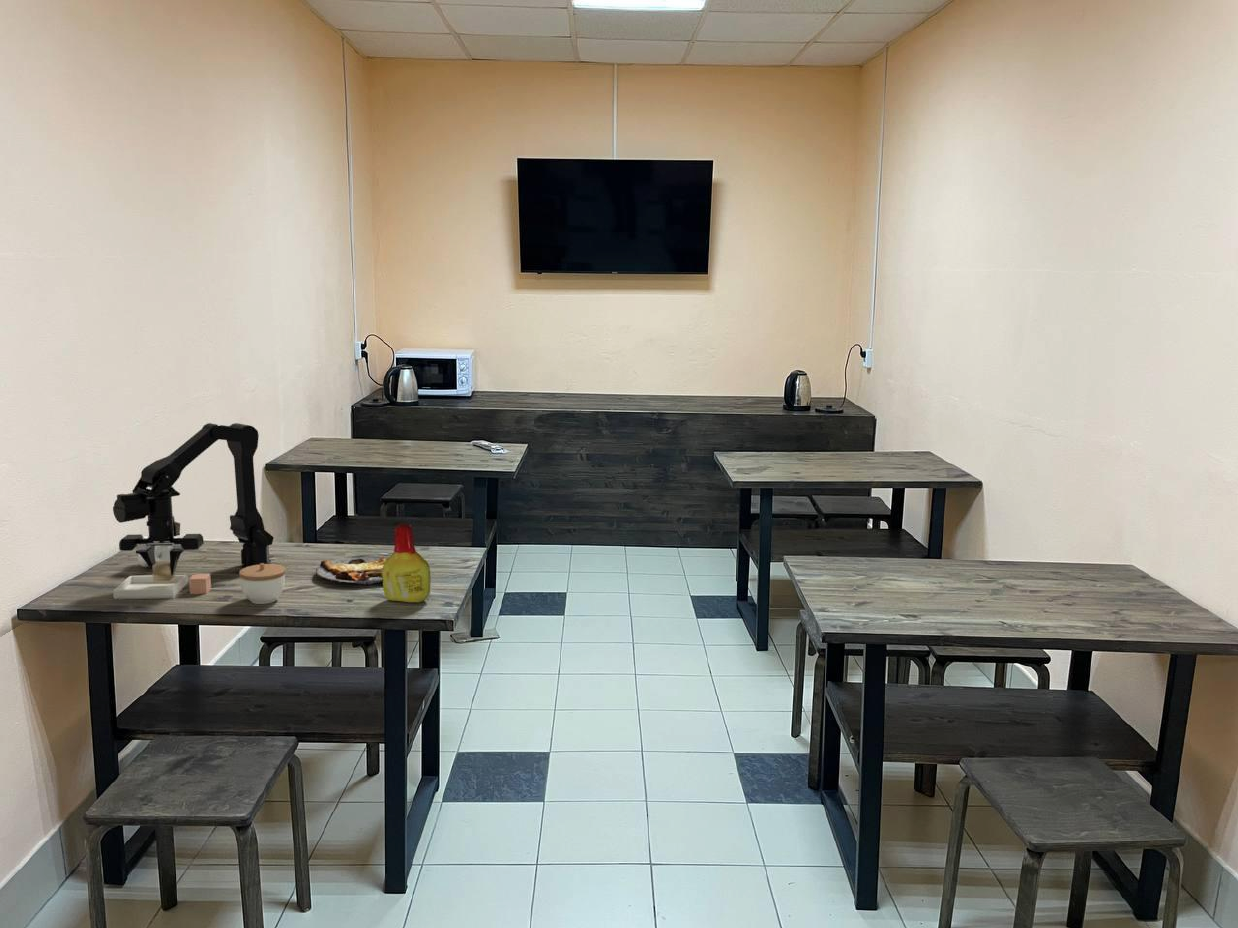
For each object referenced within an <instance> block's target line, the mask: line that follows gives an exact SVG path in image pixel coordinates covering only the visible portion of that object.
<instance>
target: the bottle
mask: <svg viewBox="0 0 1238 928" xmlns="http://www.w3.org/2000/svg"><path fill="white" fill-rule="evenodd" d="M415 547H416V546H415V544H414V534H413V528H412V525H410V524H409V523H399V524H397V525H396V526H395V528H394V548H393V553H392V554H391V555H390V557H389V558H388V559H387V560H386V562H385V563H384V565H383V569H382V577H381V579H383V581H382V587H383V589H382V590H383V593H384V597H386V599H387V600H389V601H394V602H395V601H397V602H405V603H422V602H423V601H425V600H426V598H427V597H428V596H429V595H430V594H431V568H430V564H429V563H428V561H427V560H426V559H425V558H423V556H421V554H420V553H418V552H417V551H416V548H415Z"/></svg>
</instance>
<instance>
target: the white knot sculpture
mask: <svg viewBox="0 0 1238 928" xmlns="http://www.w3.org/2000/svg"><path fill="white" fill-rule="evenodd" d="M148 537H149V535H148V536H145V535H144V536H143V538H148ZM174 538H178V536H174ZM169 542H170V541H169ZM172 549H173V547H172V545H168V546H155V551H154V554H155V561H156V562H157V561H170V551H171V550H172ZM183 553H184V552H182V553H181V554H180V557H179V559H180V558H181V557H182V555H183ZM137 561H138V562H137V563H138V564H139V565H140V567H144V568H149V566H148V564H147V563H146V561H145V560H144V559H143V558H142V556H141V555H140V554H138V556H137Z"/></svg>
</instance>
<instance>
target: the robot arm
mask: <svg viewBox="0 0 1238 928" xmlns="http://www.w3.org/2000/svg"><path fill="white" fill-rule="evenodd" d="M219 440H221V441H226V444H227V447H228V449H229V451H230V452H231V455H232V457H233V461H234V462H233V463H234V464H233V465H234V478H235V479H234V480H235V488H236V489H235V490H236V506H237V509H236V511H235V513H234V514H230V516H229V521H230V528H229V530H231V531H232V535H234V536H235V537H236V538H237V540H238V541H239V543H242V548H241V550H240V557H241V559H240V560H241V561H240V562H241V565H242V566H241V568H242V569H243V568H246V567H249V566H253V565H259V564H261V563H264V564H271V562H272V559H270V547H269V546H271V545H273V542H274V536H273V535H272V534H271V533H270V532H268V531H266V530H265V528H266V527H265V523H264V520H263V517H262V516H261V513H260V512H259V509H258V507H257V495H256V494H257V493H256V479H255V466H254V464H255V463H254V456H255V454H256V451H257V449H258V445H259V431H258V429H256V428H255V427H254V426H253V425H249V424H244V423H238V422H237V423H232V424H230V425H223V424H222V425H221V424H216V423H211V422H210V423H206V424H204V425H202V428H201V429H199V430H198V431H197V432H196V433H194V435H192V436H191V437H190V438H188V440H186V441H185V442H184V443H182V445H180V446H178V448H176V449H175V450H174V451H173V452H172V453H170V454H169V455H167V456H166V457H162V458H159V459H157V460H155V461H154V462H152V463H150V464H148V465H147V466H145V467H144V468H142V470H141V472H140V476H141V477H140V478H139V480H138V481H137V482H136V485H135V486H134V488H133V490H132V492H130V493H120V494H117V495H116V499H115V501H114V503H113V507H112V511H113V515H114V517H115V520H116V521H117V522H118V523H119V524H120V523H126V522H131V521H137V520H143V519H146V517H147V521H146V526H147V527H148V528H147V529H148V536H149V537H148V536H147V537H148V538H143V537H144V536H143V534H140V533H139V534H126V535H125V536H124V537H122V538H121V539H120V540H119V543H118V546H119V549H118V550H119V551H120V552H121V551H123V552H124V551H130V552H131V551H134V549H135V548H136V551H135V554H140V555H141V556H142V558H143V559H144V560H145V561H146V563H147V564H148V566H149V567H148V568H149V570H150V571H151V573H152V574H153V569H152V566H153V565H154V564H155V563H156V561H155V554H154V551H155V546H168V545H172V547H173V549H172V548H171V551H170V570H171V574H172V575H173V574H174V572H176V569H177V566H178V562H179V559H180V558H181V557H180V554H181V553H182V552H183V553H184V552H185V551H186V550H187V551H190V550H191V551H192V550H193V551H194V550H199V549H200V548H201V547H202V546H203V545H204V536H203V535H202V534H201V533H186V534H185V535H183V536H182V537H178V536H180V535H181V523H180V522H178V521H175V516H174V513H173V503H172V502H173V501H172V500H173V499H172V498H174V497H178V496H180V494H181V493H180V492H179V491H177V490H176V489H175V488H174V486H173V485H174V484H175V483H176V482H177V481H178V480H179V478H180V476H181V475H182V472H183V470H184V469H185V468H186V467H187V466H188V465H190V464H191V463H192V462H193V461H195V460H196V459H197V458H198V457H199V456H201V454H203V453H204V452H205V451H206V450H207V449H209V448H210V447H212V445H213V444H215V443H216V442H217V441H219ZM149 488H150V489H149ZM174 536H175V537H177V538H174ZM169 541H170V542H169ZM183 553H182V554H183ZM179 557H180V558H179Z"/></svg>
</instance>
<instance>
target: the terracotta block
mask: <svg viewBox="0 0 1238 928" xmlns="http://www.w3.org/2000/svg"><path fill="white" fill-rule="evenodd" d="M188 583H189V594H190V595H201V594H204V595H207V594H208V593H209V592H210V591H211V589H212V585H211V583H212V582H211V573H194V574H193V575H191V576H190V577H189V578H188Z"/></svg>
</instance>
